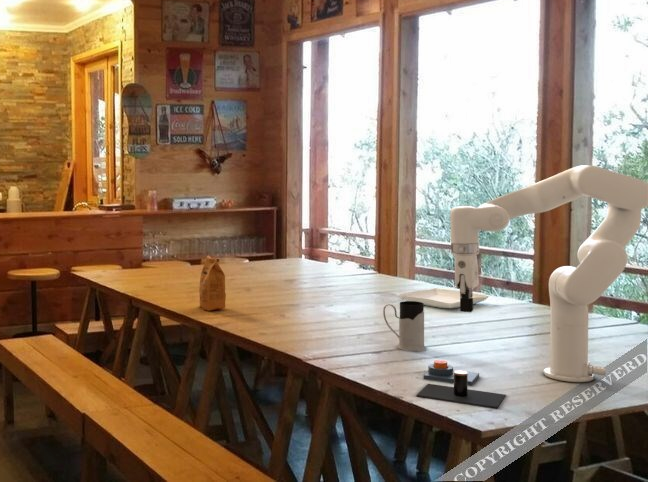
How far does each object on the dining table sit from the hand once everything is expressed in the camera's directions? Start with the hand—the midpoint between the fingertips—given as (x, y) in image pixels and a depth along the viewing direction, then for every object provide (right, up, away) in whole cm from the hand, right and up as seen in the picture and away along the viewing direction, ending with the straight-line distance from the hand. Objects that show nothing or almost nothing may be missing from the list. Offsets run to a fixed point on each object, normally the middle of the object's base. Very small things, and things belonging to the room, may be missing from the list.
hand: (466, 311), depth 230 cm
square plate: (+33, -12, +106) cm, 112 cm away
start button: (-8, -16, -2) cm, 18 cm away
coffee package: (-66, -14, +105) cm, 124 cm away
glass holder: (-8, -17, +34) cm, 38 cm away
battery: (-10, -19, -20) cm, 30 cm away
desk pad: (-10, -20, -20) cm, 30 cm away
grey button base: (-6, -19, -4) cm, 20 cm away
